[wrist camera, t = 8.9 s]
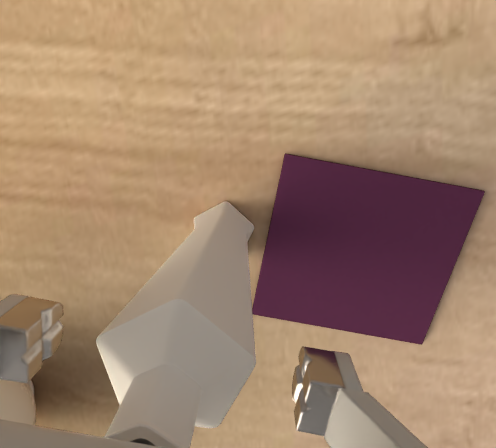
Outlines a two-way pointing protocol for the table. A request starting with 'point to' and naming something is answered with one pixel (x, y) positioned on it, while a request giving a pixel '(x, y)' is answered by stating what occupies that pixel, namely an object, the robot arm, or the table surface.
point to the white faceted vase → (184, 337)
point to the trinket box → (17, 402)
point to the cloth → (361, 248)
